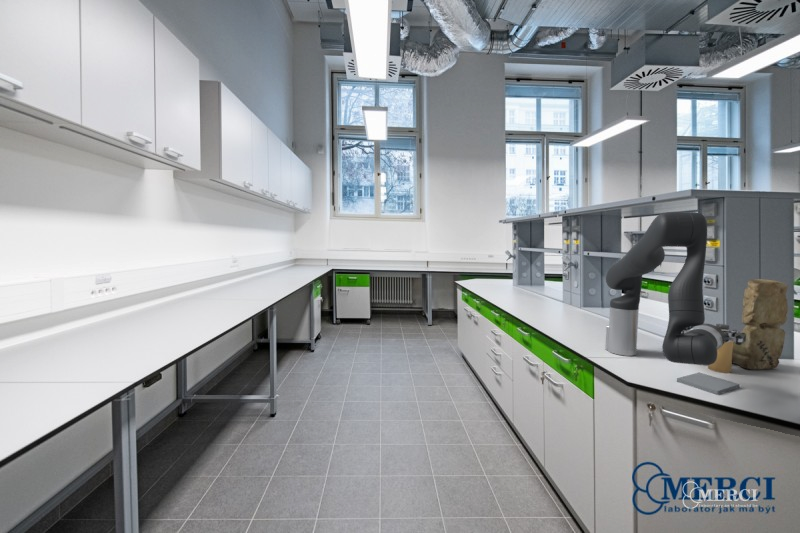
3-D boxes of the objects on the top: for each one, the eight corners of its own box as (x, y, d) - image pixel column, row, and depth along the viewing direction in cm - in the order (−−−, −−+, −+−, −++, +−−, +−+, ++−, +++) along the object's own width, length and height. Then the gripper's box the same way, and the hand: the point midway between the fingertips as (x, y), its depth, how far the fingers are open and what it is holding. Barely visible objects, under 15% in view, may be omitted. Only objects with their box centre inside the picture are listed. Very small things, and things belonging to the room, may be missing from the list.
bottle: (704, 368, 118) (707, 323, 117) (713, 365, 120) (716, 322, 119) (725, 374, 113) (728, 327, 112) (734, 371, 115) (738, 325, 114)
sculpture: (755, 361, 124) (762, 277, 122) (785, 371, 115) (793, 280, 113) (722, 362, 124) (728, 277, 121) (749, 372, 115) (756, 280, 112)
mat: (676, 381, 107) (676, 378, 107) (699, 375, 111) (699, 372, 111) (717, 394, 98) (717, 391, 97) (739, 387, 102) (739, 384, 102)
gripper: (740, 330, 92) (749, 322, 102) (673, 321, 103) (687, 314, 113) (738, 358, 92) (747, 347, 103) (672, 346, 103) (686, 337, 114)
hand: (716, 330), depth 108 cm, fingers open, 8 cm apart
